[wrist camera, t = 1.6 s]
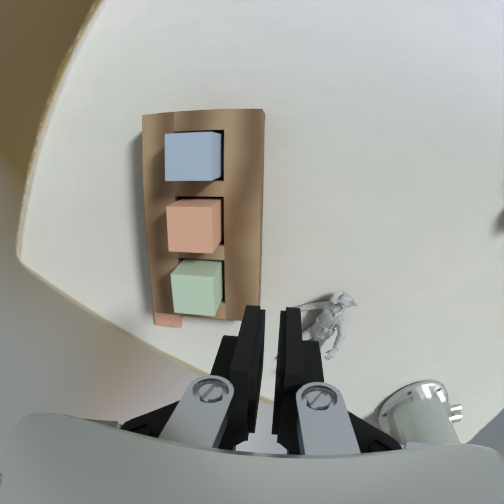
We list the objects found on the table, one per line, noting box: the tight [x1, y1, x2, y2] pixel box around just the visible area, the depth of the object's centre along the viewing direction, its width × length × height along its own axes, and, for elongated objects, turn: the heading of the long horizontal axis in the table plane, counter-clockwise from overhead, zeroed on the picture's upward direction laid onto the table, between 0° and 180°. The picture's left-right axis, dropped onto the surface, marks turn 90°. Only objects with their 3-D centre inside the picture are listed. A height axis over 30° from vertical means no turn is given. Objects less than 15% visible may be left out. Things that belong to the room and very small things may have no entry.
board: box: [142, 109, 265, 321], centre depth 32 cm, size 12×22×4 cm, turn 179°
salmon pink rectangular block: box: [166, 197, 224, 254], centre depth 30 cm, size 4×4×6 cm
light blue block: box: [165, 132, 224, 181], centre depth 28 cm, size 4×4×6 cm
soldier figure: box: [295, 291, 357, 360], centre depth 36 cm, size 8×5×12 cm
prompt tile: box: [152, 300, 182, 328], centre depth 39 cm, size 4×4×1 cm
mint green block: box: [171, 258, 225, 316], centre depth 32 cm, size 4×4×6 cm
